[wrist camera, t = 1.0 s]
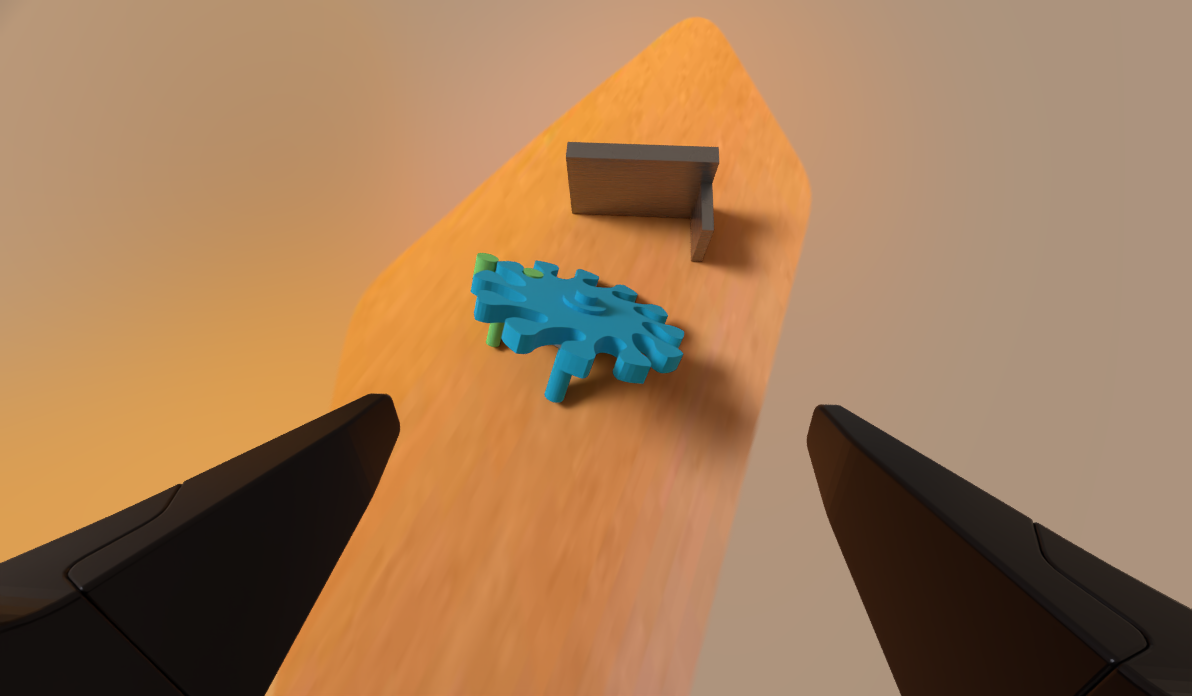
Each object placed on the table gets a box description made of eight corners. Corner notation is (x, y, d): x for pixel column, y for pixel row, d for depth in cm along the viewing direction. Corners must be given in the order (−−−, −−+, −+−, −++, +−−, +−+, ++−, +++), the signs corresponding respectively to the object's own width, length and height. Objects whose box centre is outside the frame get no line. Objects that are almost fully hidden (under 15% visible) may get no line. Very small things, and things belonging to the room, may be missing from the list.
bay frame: (701, 261, 25) (721, 211, 21) (567, 255, 25) (560, 204, 21) (700, 205, 26) (718, 147, 22) (573, 199, 27) (567, 141, 22)
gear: (717, 319, 22) (635, 383, 14) (673, 410, 24) (581, 510, 16) (548, 236, 26) (403, 246, 17) (525, 323, 28) (389, 367, 20)
